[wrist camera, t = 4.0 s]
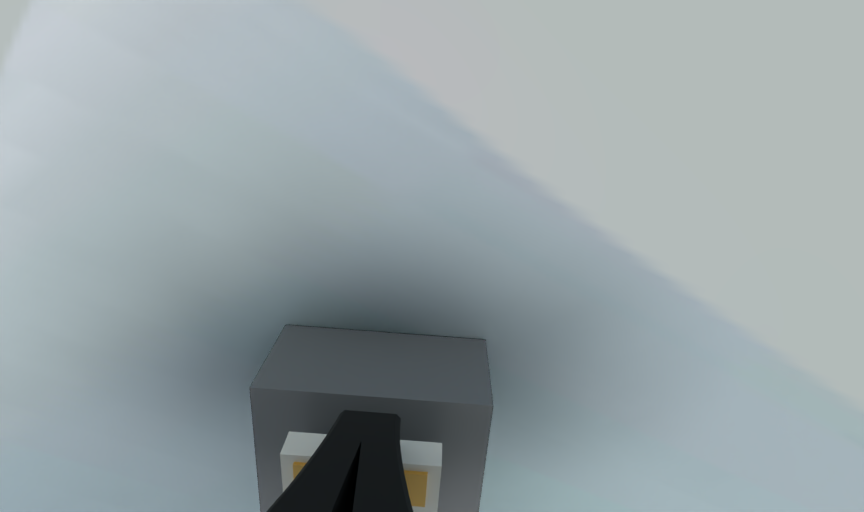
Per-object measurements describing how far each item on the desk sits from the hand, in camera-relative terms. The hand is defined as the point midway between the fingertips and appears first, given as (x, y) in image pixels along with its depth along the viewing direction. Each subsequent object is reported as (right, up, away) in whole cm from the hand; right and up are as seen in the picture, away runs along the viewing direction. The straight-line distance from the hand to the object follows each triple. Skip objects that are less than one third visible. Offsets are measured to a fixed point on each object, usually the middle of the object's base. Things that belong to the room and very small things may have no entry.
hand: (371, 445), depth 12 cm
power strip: (0, -5, +6) cm, 8 cm away
